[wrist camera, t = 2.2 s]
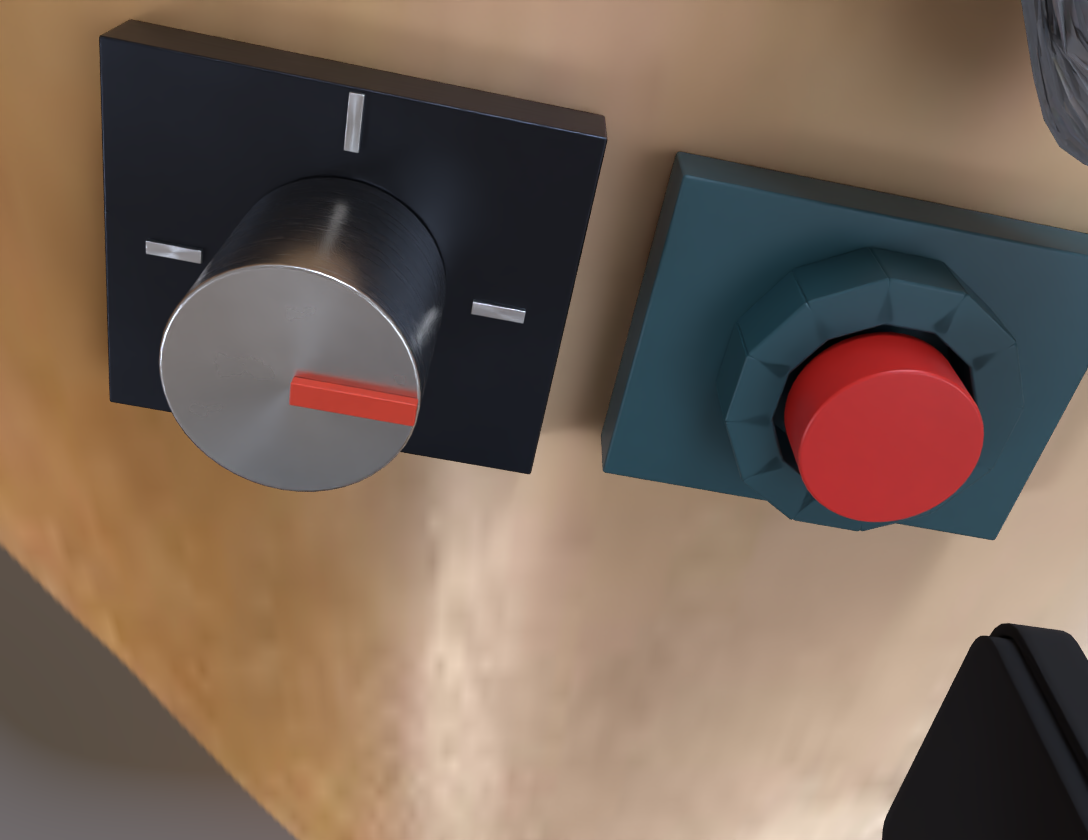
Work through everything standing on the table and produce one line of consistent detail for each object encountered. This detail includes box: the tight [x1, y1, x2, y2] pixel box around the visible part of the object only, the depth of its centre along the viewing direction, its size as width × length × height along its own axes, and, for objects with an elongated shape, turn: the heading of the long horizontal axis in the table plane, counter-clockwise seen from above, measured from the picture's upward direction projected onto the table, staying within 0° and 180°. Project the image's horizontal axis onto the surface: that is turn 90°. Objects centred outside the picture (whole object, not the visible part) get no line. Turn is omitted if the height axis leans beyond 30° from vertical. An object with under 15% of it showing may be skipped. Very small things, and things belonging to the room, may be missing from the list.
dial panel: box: [99, 20, 607, 474], centre depth 28 cm, size 12×10×2 cm
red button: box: [784, 332, 984, 522], centre depth 26 cm, size 4×4×2 cm
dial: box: [159, 177, 446, 492], centre depth 24 cm, size 6×6×6 cm
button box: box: [601, 152, 1088, 540], centre depth 28 cm, size 12×9×4 cm
